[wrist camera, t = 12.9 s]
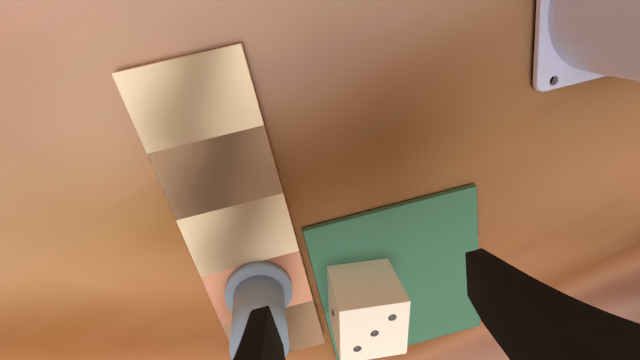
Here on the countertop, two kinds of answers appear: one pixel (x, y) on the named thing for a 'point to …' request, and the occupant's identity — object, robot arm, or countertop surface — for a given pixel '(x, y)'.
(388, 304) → the die
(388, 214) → the dice mat
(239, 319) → the pawn
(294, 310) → the track
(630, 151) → the countertop surface
